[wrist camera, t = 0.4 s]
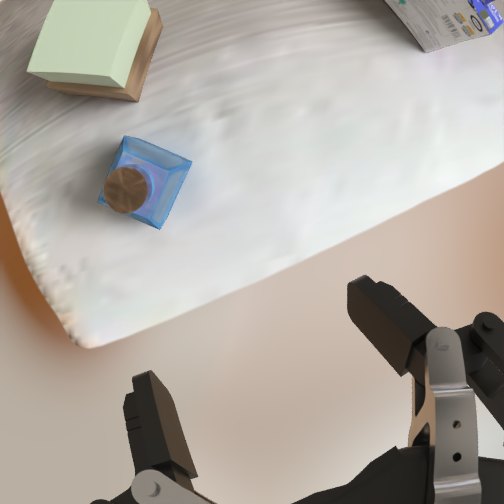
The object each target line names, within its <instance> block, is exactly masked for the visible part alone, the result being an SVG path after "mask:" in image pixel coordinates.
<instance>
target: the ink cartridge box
mask: <svg viewBox="0 0 504 504" xmlns="http://www.w3.org/2000/svg"><path fill="white" fill-rule="evenodd" d="M492 1H494V0H385V2H386V3H387V4H388V5H389V6H390V7H391V8H392V10H393V11H394V12H395V13H396V14H397V16H398V17H399V18H400V19H401V20H402V22H403V23H404V24H405V25H406V27H407V28H408V29H409V31H410V32H411V33H412V35H413V36H414V37H415V39H416V40H417V41H418V42H419V44H420V45H421V47H422V48H423V49H424V51H425V52H426V53H429V52H432V51H435V50H438V49H441V48H444V47H447V46H450V45H453V44H456V43H459V42H463V41H467V40H471V39H474V38H478V37H482V36H486V35H490V34H492V33H493V32H494V31H495V30H496V29H497V28H498V27H499V26H500V25H501V24H502V23H503V22H504V21H503V19H502V18H501V16H500V15H499V13H498V12H497V10H496V9H495V7H494V6H493V4H492V3H491V2H492Z"/></svg>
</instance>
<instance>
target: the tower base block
mask: <svg viewBox="0 0 504 504" xmlns="http://www.w3.org/2000/svg"><path fill="white" fill-rule="evenodd" d="M150 11H151V15H150V17H149V20H148V22H147V25H146V27H145V30H144V32H143V35H142V38H141V40H140V43H139V46H138V49H137V52H136V54H135V57H134V60H133V63H132V66H131V69H130V72H129V76H128V79H127V82H126V85H125V89H124V88H117V87H109V86H100V85H90V84H78V83H65V82H51V81H48V80H47V83H46V87H48V88H51V89H54V90H56V91H59V92H61V93H64V94H75V95H85V96H95V97H104V98H112V99H120V100H127V101H134V102H139V98H140V95H141V91H142V88H143V85H144V81H145V78H146V75H147V72H148V68H149V65H150V62H151V59H152V56H153V53H154V50H155V47H156V45H157V42H158V39H159V36H160V34H161V31H162V28H163V25H162V22H161V18H160V15H159V12H158V9H154V8H150Z"/></svg>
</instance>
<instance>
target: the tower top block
mask: <svg viewBox="0 0 504 504" xmlns="http://www.w3.org/2000/svg"><path fill="white" fill-rule="evenodd" d="M150 15H151V11H150V8H149V5H148V2H147V0H54V2H53V4H52V7H51V9H50V11H49V13H48V15H47V18H46V20H45V22H44V25H43V27H42V30H41V32H40V35H39V37H38V40H37V43H36V45H35V48H34V51H33V54H32V57H31V60H30V63H29V66H28V69H27V72H29V73H31V74H34V75H36V76H39V77H41V78H43V79H46V80H48V81H51V82H65V83H78V84H90V85H100V86H109V87H117V88H124V89H125V85H126V82H127V79H128V76H129V72H130V69H131V66H132V63H133V60H134V57H135V54H136V52H137V49H138V46H139V43H140V40H141V38H142V35H143V32H144V30H145V27H146V25H147V22H148V20H149V17H150Z"/></svg>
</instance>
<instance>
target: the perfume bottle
mask: <svg viewBox="0 0 504 504" xmlns="http://www.w3.org/2000/svg"><path fill="white" fill-rule="evenodd" d="M191 164H192V161H190V160H187V159H185V158H183V157H181V156H178V155H176V154H174V153H171V152H169V151H167V150H165V149H162V148H160V147H158V146H155V145H153V144H151V143H148V142H146V141H143V140H141V139H138V138H134V137H130V136H125V135H124V138H123V140H122V142H121V144H120V147H119V149H118V151H117V153H116V156H115V158H114V161H113V163H112V165H111V168H110V170H109V173H108V175H107V178H106V180H105V183H104V186H103V188H102V191H101V194H100V196H99V199H98V203H100V204H103V205H105V206H107V207H109V208H111V209H113V210H114V211H116V212H119V213H123V214H125V215H127V216H130V217H132V218H134V219H136V220H139V221H141V222H143V223H146V224H148V225H150V226H152V227H155V228H157V229H159V230H160V229H161V227H162V226H163V224H164V222H165V220H166V219H167V217H168V215H169V212H170V210H171V208H172V206H173V203H174V201H175V199H176V197H177V194H178V192H179V190H180V188H181V186H182V183H183V181H184V179H185V177H186V175H187V173H188V170H189V168H190V166H191Z"/></svg>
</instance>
